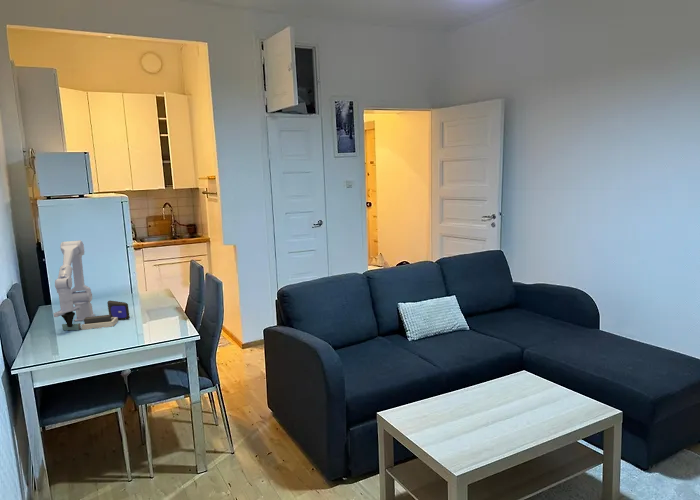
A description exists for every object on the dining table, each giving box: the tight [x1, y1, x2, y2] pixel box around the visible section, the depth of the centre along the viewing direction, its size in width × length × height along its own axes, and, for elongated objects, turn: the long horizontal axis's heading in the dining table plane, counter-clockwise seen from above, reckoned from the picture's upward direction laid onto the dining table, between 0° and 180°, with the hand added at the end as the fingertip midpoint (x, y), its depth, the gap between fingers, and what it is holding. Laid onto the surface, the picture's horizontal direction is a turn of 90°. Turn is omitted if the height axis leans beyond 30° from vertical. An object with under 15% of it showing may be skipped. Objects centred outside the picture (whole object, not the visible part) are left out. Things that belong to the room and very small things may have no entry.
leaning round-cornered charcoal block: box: [107, 300, 131, 321], centre depth 264 cm, size 16×5×9 cm, turn 60°
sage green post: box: [61, 322, 82, 331], centre depth 248 cm, size 10×1×3 cm, turn 85°
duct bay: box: [81, 317, 119, 331], centre depth 253 cm, size 9×15×2 cm, turn 101°
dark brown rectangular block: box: [83, 314, 111, 324], centre depth 253 cm, size 4×12×5 cm, turn 106°
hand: (70, 326), depth 246 cm, fingers closed, pressing on sage green post
